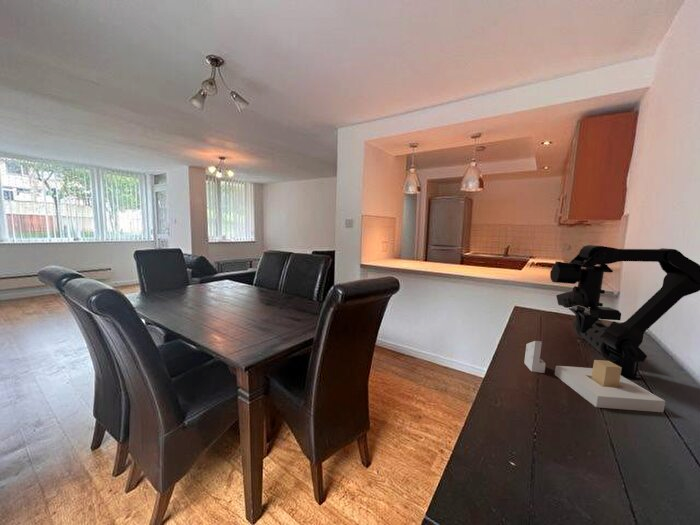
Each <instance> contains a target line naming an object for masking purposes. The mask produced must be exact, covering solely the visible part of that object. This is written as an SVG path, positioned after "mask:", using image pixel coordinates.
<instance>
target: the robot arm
mask: <svg viewBox="0 0 700 525" xmlns="http://www.w3.org/2000/svg"><path fill="white" fill-rule="evenodd" d="M618 262H619V263H620V262H644V263H645V262H646V263H649V262H652V263H655V262H656V263H659V266H660V268H661V270H662V271H663V272H664V273H666V274H665V276H664V278H663V279H662V280H663V282H662V286H661V287H660V288H659V289H658V290H657V291H656V292H655V293H654V294H653V295H652V296H651V297H649V299H648V300H647V301H645V303H643V305H642V306H640V307H639V308H638V309H637V310H636V311H635V312H634V313H633V314H632V315H631V316H630V317H629V318H628V319H626V321H623V322H621V323H619V322H616V321H621V319H622V318H621V317H622V313H621V312H620V310H618V309H615V308H612V307H608V306H603V305H604V303H603V302H600V299H601V294H605V289H602V287H603V282H604V273H613V272H614V270H613V269H612V268H610V267H609V265H608V264H614V263H618ZM549 274H550V276H549V277H550V280H551V283H556V284H569V285H570V284H571V285H575V284H577V282H578V284H577V285H575V286H573V288H572V291H566V292H563V293H560V294H556V295H555V296H556V300H557V304H558V306H562V307H564V308H566V309H569V311H571V312H572V313H573V314H574V315H575V318H576V319H577V322H578V326H579V330H580V332H581V333H586V332H587V331H588V329H589V328H590V327H591V326H592V325H593V324H594V323H595V322H596V321H597V320H604V321H605V320H606V321H607V320H609V321H612V322H611V323H610V325H609V326H607V327H608V328H606V329H604V331H605V332H604V333H603V335H602V337H603V341H604V342H605V343H606V345H607V349H609V350H611V351H613V352H610V356H609V357H608V359H607V361H610V362H612V363H614V364H616V365H618V366H620V367H622V369H621V376H623V377H625V378H626V379H629V380H632V379H633V380H642V377H641V376H639V375H638V369H639V363H644V362H645V360H646V359H647V357H648V355H647V354H646V353H645V352H644V351H643V350H642V349H641V347H640V345H641V344H643V340H644V334H645V333H646V332H647V331H648V330H649V329H650V327H652V326H653V325H654V324H655V323H657V321H659V319H661V318H662V317H663V316H664V315H665V314H666V313H668V311H669V310H670V309H671V308H673V307H674V306H675V305H676V304H677V303H678V302H679V301H680V300H681V299H682V298H684V297H687V296H689V295H693V294H695V293H698V292H700V264H699V263H697V262H696V261H694V260H693V259H690V258H689V257H687V256H685V255H684V254H683V253H682V252H681V251H679V250H677V249H676V248H675V249H674V248H664V247H663V248H616V247H610V246H604V245H592V244H589V245H585V246H583V247H582V248H581V249H580V250H579V252H578V253H577V255H576V256H575V257H574V258H573V259H572V260H571V261H569V262H562V261H555V262H554V265H553V266H552V267H551V270H550V272H549Z"/></svg>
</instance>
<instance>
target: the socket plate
mask: <svg viewBox="0 0 700 525" xmlns="http://www.w3.org/2000/svg"><path fill="white" fill-rule="evenodd" d="M592 371H593V367H580V366H569V365H568V366H566V365H555V369H554V376H556V377H557V378H558V379H559V380H561V381H562V382H563V383H564V384H566V385H567V386H568V387H570V388H571V389H572V390H573V391H575V392H576V393H577V394H578V395H580V396H581V397H582V398H583V399H585V400H586V401H588V402H589V403H590V404H592V406H594V407H595V408H600V409H601V408H603V409H612V410H613V409H615V410H616V409H617V410H625V411H626V410H628V411H641V412H642V411H643V412H653V413H655V412H656V413H664V411H665V405H666V400H664V399H663V398H661V397H659V396H658V395H656V394H654V393H651V392H650V391H649V390H647V389H646V388H643V387H642V386H640V385H638V384H636V383H635V382H633V381H632V380H631V379H629V378H625V377H623V376H621V375H620V381H619V387H618V388H615V387H602V386H601V385H599V384H598V383H596V382H595V381H593V380H592V379H591V378H592Z"/></svg>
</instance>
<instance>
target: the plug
mask: <svg viewBox="0 0 700 525" xmlns="http://www.w3.org/2000/svg"><path fill="white" fill-rule="evenodd" d="M592 368H593V371H592V378H591V379H592V380H593V381H595V382H596V383H598V384H599V385H601V386H602V387H615V388H618V387H619V381H620V375H621V369H622V367H620V366H618V365H616V364H614V363H612V362H610V361H608V360H602V359H594V360H593V365H592Z"/></svg>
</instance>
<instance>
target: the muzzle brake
mask: <svg viewBox="0 0 700 525" xmlns="http://www.w3.org/2000/svg"><path fill="white" fill-rule="evenodd" d="M572 325H573V326H572V327H573V330H574V332H575V333H576V334H577V335H578V336H579V337H581V339H583V340H585V341H586V343H588V344H589V343H590V344H591V345H590V344H589V345H590V346H592V347H593V348H594V349H595V350H597V352H599V354H600V355H602V356H603V357H604V358H605V359H607V360H608V357H609V356H610V352H613V351H611V350H609V349H607V345H606V343H605V342H604V341H603V337H602V335H603V333H604V332H605V331H604V329H606V328H608V327H609V326H607V325H606V324H605V323H603V322H602V321H601V319H598V320H597V321H596V322H595V323H594V324H593V325H592V326H591V327H590V328H589V329H588V331H587V332H586V333H581V332H580V330H579V326H578V322H577V318H576V319H575V320H574V322H573V324H572Z"/></svg>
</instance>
